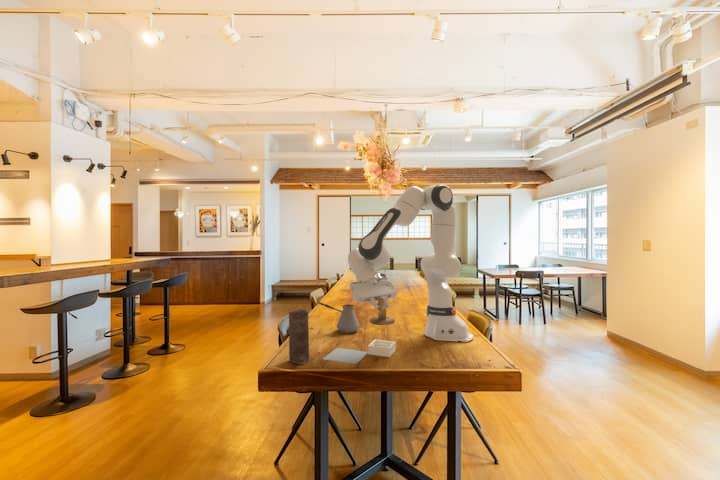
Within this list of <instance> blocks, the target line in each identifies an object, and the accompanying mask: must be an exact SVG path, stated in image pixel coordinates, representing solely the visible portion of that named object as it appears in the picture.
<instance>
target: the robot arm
mask: <svg viewBox="0 0 720 480" xmlns="http://www.w3.org/2000/svg"><path fill="white" fill-rule="evenodd" d="M453 199H454V196H453V191H452V189H451V187H449V186H448V185H446V184H434V185H428V186H426V187H421V188H420V187H418V186H413V185H411V186H409V187H408V188H406V189H405V190H404V192H403V193H401V195H400V197H399V198H398V200H397V201H396V202H395V203H394V204H393V206H392V207H391V208H390V209H388V210H387V211H386V212H385V213H384V214H383V216H381V217H380V219H379V220H378V222H377V223H376V224H375V225H374V227H373V228H372V229H371V231H369V232H368V233H367V234H365V236H364V237H363V238H361V239H360V241H359V243H358V246H357V248H353V249H352V250H351V251H350V252H349V253H348V255H347V263H348V265H349V268H350V270H351V272H352V274H353V275H354V276H355V280H356V281H355V282H354V281H353V282H351V283H350V284H349V285H348V286H349V289H350V291H351V294H352V297H353V300H354V302H355V303H357V304H360V303H361V304H362V303H368V302H369V304H371V305H372V306H373V307H374V308H375V310H378V309H379V308H380V304H379V303H378V302H377V301H378V297H386V309H387V308H389V307H390V303H389V300H390V299H394V298H395V297H396V296H397V294H398V291H397V288H396V286H395V284H394V283H393V282H392V281H391V280H390V279H389V275H388V274H386V273H382V272H379V270H380V269H383V268H384V267H386V266H387V265H388V264H389V263H390V261H391V256H390V252H389V251H388V250H387V248H386V247H385V245H384V240H385V238H386V236H387V235H388V234H389V232H390V231H391V229H392V228H394V227H395V226H400V227H407V226H410V225H411V224H412V223H413V222H414V220H415V219H416V217H418V214H419V213H420V211H421V210H422V211H430V210H431V212H432V220H431V230H430V242H431V245H432V246H433V250H434V251H433V252H434V253H429V254H425V255H424V256H423V257H422V258H421V260H420V268H421V270H422V272H423V275H424V277H425V281H426V286H427V306H426V316H427V319H426V327H425V329H424V330H425V331H424V336H425V337H428V338H431V340H434V341H441V342H442V341H444V342H458V341H461V342H463V343H469V341H470V342H472V341H473V340H474V335H473V333H472V332H469V327H468V324H467V322H466V321H465V320H463V319H462V318H461V317H459V316H458V315H457V309H456V307H454V306H453V305H452V300H453V299H452V297H453V296H452V288H451V287H450V285H449V283H448V280H447V279H453V278H456V277H458V276H459V275H460V273H461V271H462V263H461V261H460V259H459V258H458V255H457V251H456V249H455V248H456V246H455V234H456V233H455V232H456V208H455V206H454V205H453V202H454V200H453ZM472 339H473V340H472ZM471 340H472V341H471Z"/></svg>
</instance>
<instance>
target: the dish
mask: <svg viewBox="0 0 720 480" xmlns="http://www.w3.org/2000/svg"><path fill="white" fill-rule="evenodd" d="M396 344H397V342H396V341H393V340H392V341H391V340H383V339H376V338H375V339H374V340H373V341H372V342H370V343H369V344H368V345H367V352H368V353H367V355H371V356H377V357H385V358H391V356H392V355H393V354H394V353H395V351H396V350H397V348H396V347H397V346H396Z"/></svg>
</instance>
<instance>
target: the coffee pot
mask: <svg viewBox="0 0 720 480" xmlns="http://www.w3.org/2000/svg"><path fill="white" fill-rule="evenodd" d="M318 305H320V306H323V307H326V308H329V309H330V310H335V311H337V312H339V313H341V314H340V316H339V318H338V321H337V323H336V328H337V329H338V331H340V332H341V333H342V334H354V333H356V331H358V330H359V328H360V323H359V320H358V318H357V315H356V313H355V310H354V308H355V305H354V304H351V303H350V304H343V305H341V307H342V310H341V309H338V308H336V307H334V306H331V305H328V304H327V303H326V304H325V303H324V302H320V301H318V302H317V305H316V306H318Z"/></svg>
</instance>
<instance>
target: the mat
mask: <svg viewBox="0 0 720 480" xmlns="http://www.w3.org/2000/svg"><path fill="white" fill-rule="evenodd" d="M367 355H368V351H362V350H356V349H348V348H340V347H337V348H335V349H334V350H332V351H331V352H330V353H329V354H327V355H325V356H324V357H323V358H322V360H325V361H330V362H331V361H333V362H337V363H338V362H340V363H344V364H345V363H346V364H351V365H352V364H353V365H357V364H358V363H359V362H360V361H361V360H362V359H364V357H366V356H367Z"/></svg>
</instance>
